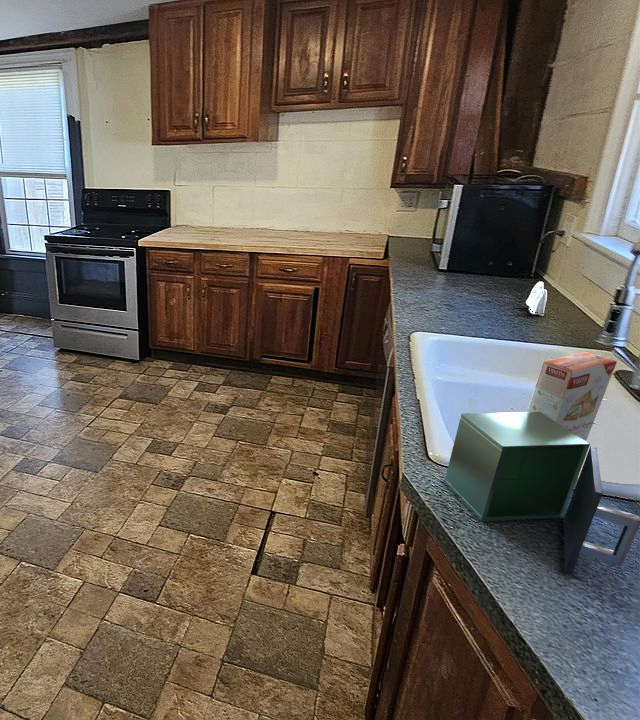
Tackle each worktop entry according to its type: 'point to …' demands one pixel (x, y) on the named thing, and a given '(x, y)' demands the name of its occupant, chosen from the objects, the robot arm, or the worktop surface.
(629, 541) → the door
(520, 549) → the worktop surface
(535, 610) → the worktop surface
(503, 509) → the dark green box
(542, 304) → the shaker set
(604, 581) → the worktop surface
